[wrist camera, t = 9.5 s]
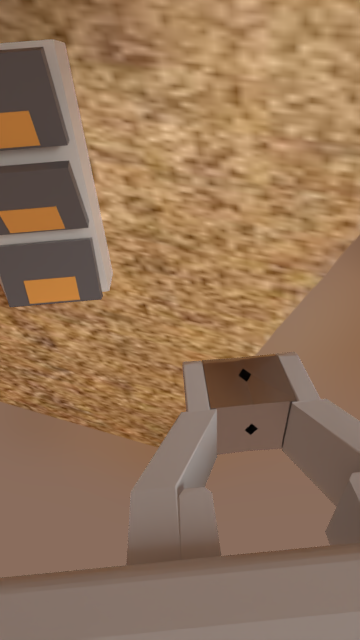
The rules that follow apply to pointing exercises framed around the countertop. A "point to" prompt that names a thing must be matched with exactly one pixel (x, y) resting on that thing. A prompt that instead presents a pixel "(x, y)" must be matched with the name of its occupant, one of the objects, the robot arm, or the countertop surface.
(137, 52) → the countertop surface
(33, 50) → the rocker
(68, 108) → the rocker switch box
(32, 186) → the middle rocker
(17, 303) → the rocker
